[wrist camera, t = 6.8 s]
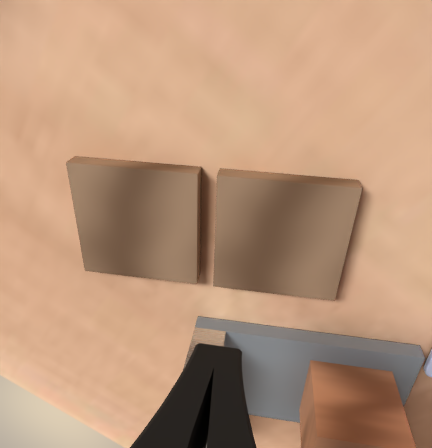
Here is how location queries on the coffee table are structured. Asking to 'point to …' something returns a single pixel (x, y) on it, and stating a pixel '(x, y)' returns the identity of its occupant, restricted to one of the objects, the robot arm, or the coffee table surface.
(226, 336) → the grey tray
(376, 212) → the coffee table surface
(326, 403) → the cube
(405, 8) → the coffee table surface
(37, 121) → the coffee table surface
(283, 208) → the broken strip
